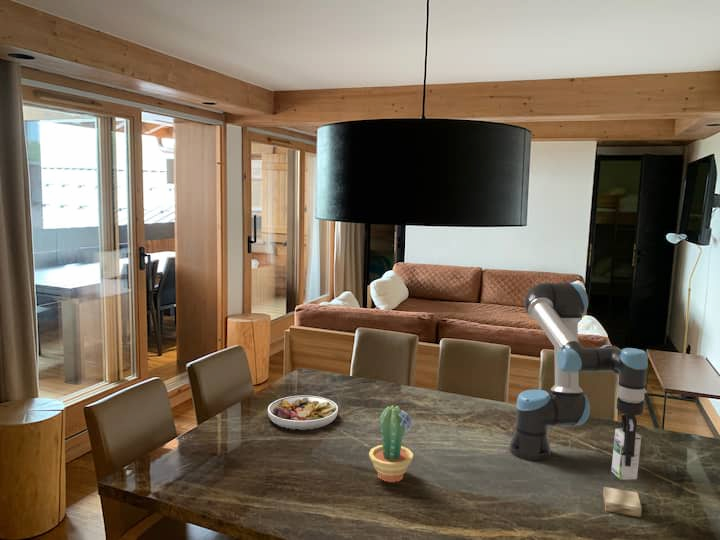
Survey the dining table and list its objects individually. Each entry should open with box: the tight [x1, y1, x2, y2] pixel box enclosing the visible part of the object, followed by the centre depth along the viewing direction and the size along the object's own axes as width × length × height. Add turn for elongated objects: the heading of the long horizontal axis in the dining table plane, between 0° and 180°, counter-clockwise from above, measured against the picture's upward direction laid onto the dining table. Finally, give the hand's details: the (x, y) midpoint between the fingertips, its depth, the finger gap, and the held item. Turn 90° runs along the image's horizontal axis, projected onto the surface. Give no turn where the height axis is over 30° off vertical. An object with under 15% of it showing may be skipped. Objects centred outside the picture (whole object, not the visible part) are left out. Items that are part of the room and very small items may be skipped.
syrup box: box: [611, 427, 642, 481], centre depth 180 cm, size 6×6×14 cm
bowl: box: [267, 395, 339, 431], centre depth 247 cm, size 30×30×8 cm
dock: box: [602, 486, 643, 518], centre depth 182 cm, size 10×10×3 cm
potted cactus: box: [368, 404, 414, 483], centre depth 197 cm, size 15×15×25 cm
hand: (624, 469), depth 181 cm, fingers closed on syrup box, 7 cm apart
